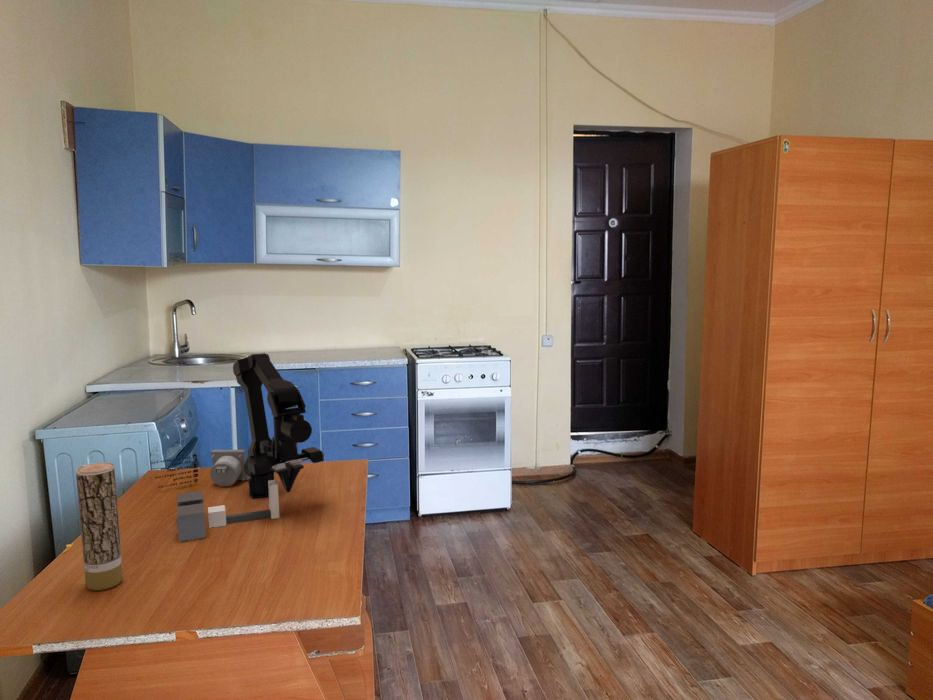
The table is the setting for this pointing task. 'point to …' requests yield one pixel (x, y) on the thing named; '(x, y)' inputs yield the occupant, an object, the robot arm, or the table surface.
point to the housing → (190, 516)
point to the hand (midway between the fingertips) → (287, 491)
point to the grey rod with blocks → (220, 519)
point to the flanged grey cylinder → (219, 467)
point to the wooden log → (99, 525)
